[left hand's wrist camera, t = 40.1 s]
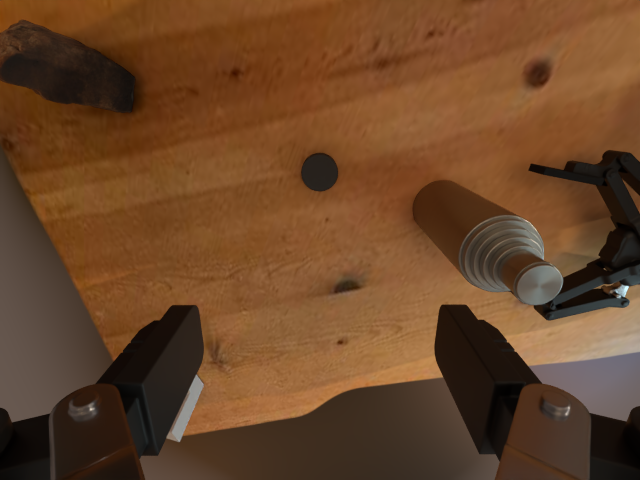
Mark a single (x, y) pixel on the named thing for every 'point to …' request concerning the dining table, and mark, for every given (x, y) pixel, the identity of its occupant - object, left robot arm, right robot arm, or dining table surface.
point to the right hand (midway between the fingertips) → (512, 228)
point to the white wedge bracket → (185, 410)
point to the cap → (319, 172)
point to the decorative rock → (63, 69)
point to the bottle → (487, 242)
